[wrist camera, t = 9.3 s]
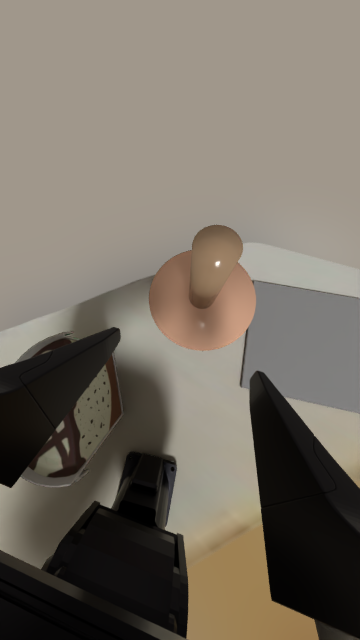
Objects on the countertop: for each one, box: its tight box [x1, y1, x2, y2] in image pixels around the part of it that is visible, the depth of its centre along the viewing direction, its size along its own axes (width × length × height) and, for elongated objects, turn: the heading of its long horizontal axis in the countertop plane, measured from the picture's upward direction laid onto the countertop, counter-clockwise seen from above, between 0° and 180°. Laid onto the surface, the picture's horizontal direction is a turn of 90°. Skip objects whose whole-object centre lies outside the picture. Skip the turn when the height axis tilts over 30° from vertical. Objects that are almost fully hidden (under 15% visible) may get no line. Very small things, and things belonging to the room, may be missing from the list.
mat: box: [241, 281, 360, 413], centre depth 22 cm, size 16×16×1 cm
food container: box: [15, 331, 124, 487], centre depth 17 cm, size 12×6×10 cm, turn 15°
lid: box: [149, 225, 256, 351], centre depth 14 cm, size 13×13×10 cm
